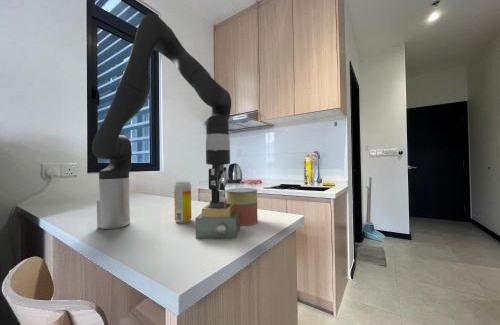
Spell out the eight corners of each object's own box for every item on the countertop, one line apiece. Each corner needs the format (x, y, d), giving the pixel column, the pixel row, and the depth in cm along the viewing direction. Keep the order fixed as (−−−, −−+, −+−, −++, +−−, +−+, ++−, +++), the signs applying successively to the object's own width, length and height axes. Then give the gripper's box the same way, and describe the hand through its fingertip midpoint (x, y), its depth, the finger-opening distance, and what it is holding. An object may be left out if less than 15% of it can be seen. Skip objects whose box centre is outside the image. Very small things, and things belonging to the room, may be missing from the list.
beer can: (193, 219, 85) (193, 181, 84) (187, 223, 78) (187, 182, 78) (179, 218, 85) (178, 181, 85) (172, 223, 79) (171, 182, 79)
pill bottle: (227, 223, 66) (227, 191, 66) (209, 224, 64) (209, 191, 65) (226, 218, 71) (226, 189, 71) (209, 219, 70) (209, 189, 70)
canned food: (262, 219, 82) (262, 188, 82) (249, 228, 71) (248, 192, 71) (236, 217, 87) (236, 187, 86) (221, 224, 76) (220, 191, 76)
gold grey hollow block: (193, 240, 61) (192, 211, 61) (205, 227, 73) (204, 202, 73) (234, 241, 60) (234, 211, 60) (240, 228, 72) (239, 202, 72)
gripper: (212, 150, 75) (212, 196, 75) (199, 148, 61) (200, 205, 61) (233, 150, 74) (234, 196, 74) (225, 147, 60) (226, 205, 60)
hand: (218, 200), depth 67 cm, fingers open, 8 cm apart
